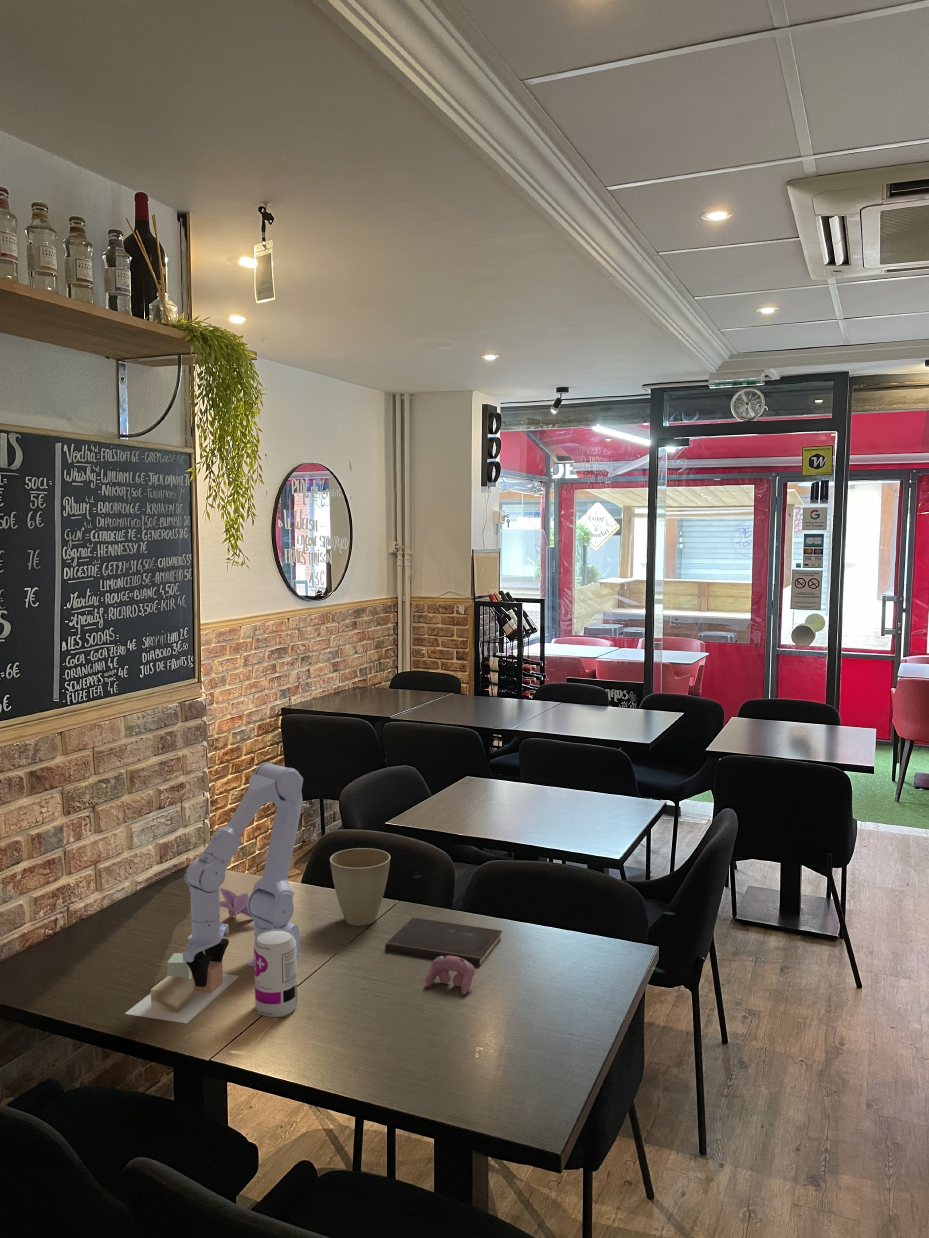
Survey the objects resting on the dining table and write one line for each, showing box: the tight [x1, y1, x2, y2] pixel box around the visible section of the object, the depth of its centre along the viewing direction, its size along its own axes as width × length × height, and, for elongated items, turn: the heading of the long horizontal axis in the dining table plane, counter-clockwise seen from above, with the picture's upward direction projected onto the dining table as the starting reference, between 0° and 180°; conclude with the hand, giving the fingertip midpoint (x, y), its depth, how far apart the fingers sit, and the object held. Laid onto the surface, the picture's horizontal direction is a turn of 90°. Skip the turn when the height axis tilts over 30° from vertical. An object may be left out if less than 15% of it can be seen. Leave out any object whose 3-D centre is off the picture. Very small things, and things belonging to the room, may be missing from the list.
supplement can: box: [253, 929, 298, 1019], centre depth 179 cm, size 8×8×15 cm
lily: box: [219, 887, 253, 932], centre depth 221 cm, size 12×12×10 cm
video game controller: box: [424, 956, 476, 996], centre depth 189 cm, size 10×5×7 cm, turn 66°
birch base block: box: [150, 976, 194, 1013], centre depth 181 cm, size 6×6×4 cm
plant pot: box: [329, 847, 391, 927], centre depth 223 cm, size 15×15×16 cm
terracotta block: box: [192, 961, 224, 993], centre depth 188 cm, size 4×4×4 cm
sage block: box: [166, 952, 192, 979], centre depth 192 cm, size 4×4×4 cm
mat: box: [124, 973, 240, 1024], centre depth 185 cm, size 14×20×1 cm
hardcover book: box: [384, 917, 503, 968], centre depth 209 cm, size 16×23×2 cm
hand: (207, 980), depth 188 cm, fingers closed on terracotta block, 4 cm apart
